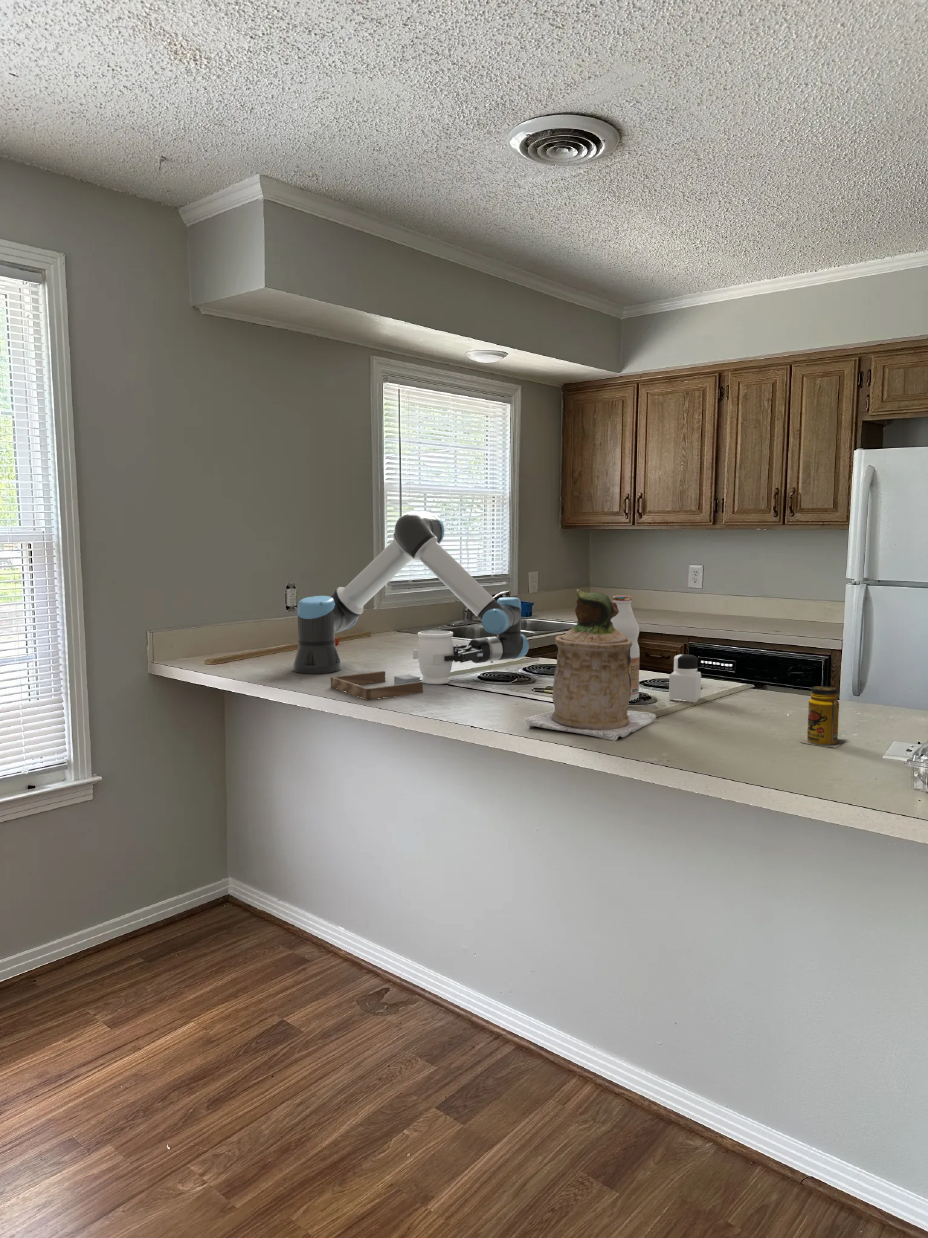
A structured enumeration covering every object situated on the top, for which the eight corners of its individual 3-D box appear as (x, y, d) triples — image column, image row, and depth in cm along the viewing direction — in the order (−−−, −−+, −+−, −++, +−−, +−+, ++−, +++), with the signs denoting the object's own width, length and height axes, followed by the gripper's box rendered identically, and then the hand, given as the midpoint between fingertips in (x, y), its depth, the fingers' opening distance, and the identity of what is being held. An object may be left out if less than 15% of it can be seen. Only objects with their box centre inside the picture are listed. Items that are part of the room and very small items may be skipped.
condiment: (800, 743, 184) (802, 688, 183) (813, 735, 190) (815, 682, 189) (835, 749, 179) (838, 692, 178) (847, 741, 186) (850, 686, 184)
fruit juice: (606, 704, 223) (608, 597, 219) (599, 697, 232) (601, 594, 229) (642, 704, 223) (644, 597, 220) (633, 696, 232) (635, 594, 229)
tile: (394, 686, 250) (394, 676, 249) (408, 684, 253) (408, 674, 252) (405, 689, 245) (405, 679, 244) (419, 687, 248) (419, 677, 247)
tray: (331, 687, 247) (330, 677, 246) (383, 680, 257) (383, 670, 256) (367, 700, 229) (367, 689, 229) (422, 692, 239) (422, 682, 239)
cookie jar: (621, 742, 185) (623, 595, 181) (520, 728, 198) (521, 591, 194) (659, 720, 206) (662, 587, 202) (566, 708, 219) (567, 584, 215)
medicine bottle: (700, 698, 230) (701, 654, 229) (695, 703, 224) (697, 658, 223) (673, 695, 233) (675, 652, 232) (668, 700, 227) (669, 656, 226)
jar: (455, 679, 259) (455, 630, 257) (451, 685, 249) (451, 634, 247) (420, 678, 260) (420, 629, 258) (415, 685, 250) (414, 634, 248)
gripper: (506, 667, 255) (445, 675, 242) (463, 657, 273) (403, 664, 261) (507, 642, 254) (445, 648, 241) (462, 634, 273) (403, 639, 260)
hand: (423, 656), depth 251 cm, fingers closed on jar, 10 cm apart
